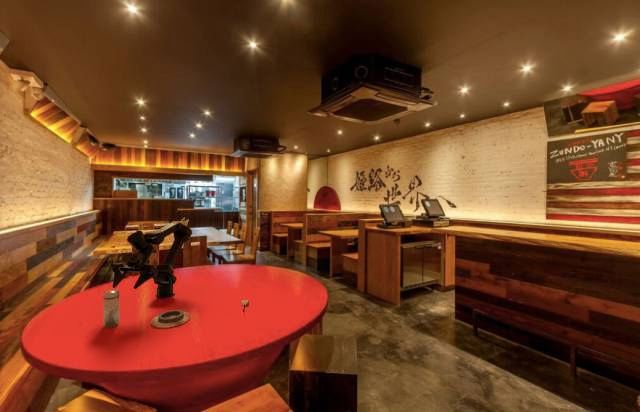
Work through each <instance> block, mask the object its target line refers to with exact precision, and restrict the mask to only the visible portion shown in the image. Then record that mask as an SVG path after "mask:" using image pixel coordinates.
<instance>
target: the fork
mask: <svg viewBox="0 0 640 412" xmlns="http://www.w3.org/2000/svg"><path fill="white" fill-rule="evenodd" d="M248 302H249V300H248V299H247V300H246V299H244V300H242V301H241V304H242V307H243V306H244V305H245V306H246V305H247V304H249V303H248Z"/></svg>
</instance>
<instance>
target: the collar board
mask: <svg viewBox="0 0 640 412" xmlns="http://www.w3.org/2000/svg"><path fill="white" fill-rule="evenodd" d="M190 319H191V314H190V313H188V312H187V311H186V312H185V311H183V310H181V309H172V310H167V311H164V312H161V313H159V314H158V315H157V316H155V317H153V318H152V319H151V324H150V325H151V326H152V327H153V328H157V329H169V328H170V327H171V328H174V327H178V326H181V325H184V324H186V323H187V322H189V321H190ZM185 322H186V323H185Z"/></svg>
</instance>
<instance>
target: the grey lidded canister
mask: <svg viewBox="0 0 640 412" xmlns="http://www.w3.org/2000/svg"><path fill="white" fill-rule="evenodd" d="M102 294H103V296H102V300H103V301H102V302H103V307H102V308H103V328H105V329H108V328H110V329H111V328H115V327H116V326H119V325H120V295H121V294H120V289H109V290H106V291H104V292H103V293H102Z"/></svg>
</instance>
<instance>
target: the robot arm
mask: <svg viewBox="0 0 640 412" xmlns="http://www.w3.org/2000/svg"><path fill="white" fill-rule="evenodd" d="M172 234H173V242H172V244H171V246H170V248H169V251H168V252H167V254H166V257H165V259H164V261H163V262H162V263H161V264H159V263H158V264H157V265H156V267H155V265H154V264H150V258H151V257H152V254H156V253H157V249H156V247H155V246H159V245H161V244H162V243H163V242H164V241H165V238H167V237H168V236H171V235H172ZM192 235H193V231H192V229H191V228H190V227H189V226H187V225H185V224H183V223H182V222H180V221H171V222H170V223H169V224H167V225H165V226H163V227H161V228H160V229H158V230H152V231H148V232H146V233H143V231H142V230H140V229H139V230H135V232H133V233H131V234H129V235H128V236H127V238H126V240H127V242H128V243H129V245H131V247H132V248H133V249H134V250H135V251H136V252H135V253H124V252H123V253H122V256H121V259H120V262H124V263H125V265H124V264H123V263H117V262H115V263H112V264H111V265H110V267H109V270H110V271H111V272H112V273H113V275H114V276H113V282H112V288H113V289H115V288H117V287H118V285H119V284H120V283H121V282H122V281H123V279H125V277H126V275H127V273H128V272H129V273H139V276H138V278H137V280H136V281H135V283H134V286H133V289H134V290H137V289H138V288H139V287H141V286H142V285H144V283H146V282H148V281H149V280H150V279H152V280H153V283H154V285H157V287H156V294H155V296H156V297H159V298H161V299H164V298H168V297H172V296H175V295H176V293H174V285H175V284H176V282H177V277H176V276H175V270H174V266H175V264H176V261H177V259H178V257H179V254H180V252H181V250H182V248H183V245H184V244H185V243H186V242H188V241H189V240H190V238H191V237H192Z"/></svg>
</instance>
